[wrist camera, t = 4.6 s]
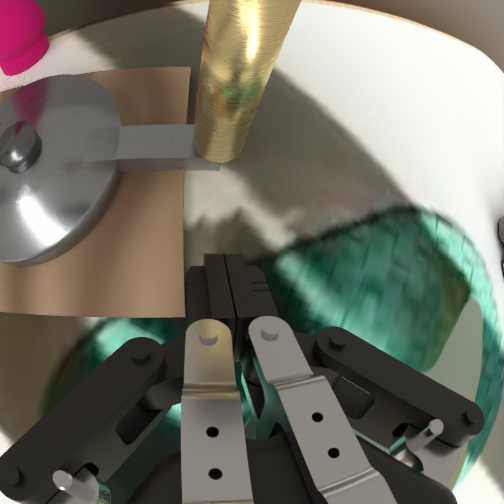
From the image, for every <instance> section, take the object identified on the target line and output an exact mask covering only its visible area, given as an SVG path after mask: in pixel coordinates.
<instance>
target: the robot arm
mask: <svg viewBox="0 0 504 504" xmlns="http://www.w3.org/2000/svg"><path fill="white" fill-rule="evenodd" d="M186 298H187V328H186V330H185V332H184V333H183V334H182V335H181V336H180V337H179V338H177V339H175V340H173V341H171V342H167V343H164V344H161V345H160V344H159V343H158V342H157V341H155V340H153V339H151V338H147V337H137V338H133V339H130V340H128V341H127V342H125V343H124V344H123V345H122V346H121V347H120V348H118V349H117V350H116V351H115V352H114V353H113V354H112V355H111V356H110V357H108V358H107V359H106V360H105V361H104V362H103V363H102V364H101V365H99V366H98V367H97V368H96V369H95V370H94V371H93V372H92V373H91V374H89V375H88V376H87V377H86V378H85V379H84V380H83V381H82V382H81V383H80V384H78V385H77V386H76V387H75V388H74V389H73V390H72V391H71V392H70V393H69V394H67V395H66V396H65V397H64V398H63V399H62V400H61V401H60V402H59V403H58V404H57V405H55V406H54V407H53V408H52V409H51V410H50V411H49V412H48V413H47V414H46V415H45V416H43V417H42V418H41V419H40V420H39V421H38V422H37V423H36V424H35V425H34V426H33V427H32V428H31V429H29V430H28V431H27V432H26V433H25V434H24V435H23V436H22V437H21V438H20V439H19V440H18V441H17V442H16V443H15V444H13V445H12V446H11V447H10V448H9V449H8V450H7V451H6V452H5V453H4V454H3V455H2V456H1V457H0V491H1V492H2V493H3V494H4V495H5V496H7V497H8V498H10V499H12V500H14V501H16V502H18V503H21V504H110V502H111V495H110V491H109V489H108V487H107V485H106V484H105V482H106V480H107V479H108V478H109V477H110V476H111V475H112V474H113V473H114V472H115V471H116V470H117V469H118V468H119V466H120V465H121V464H122V463H123V462H124V461H125V460H126V459H127V458H128V457H129V455H130V454H131V453H132V452H133V451H134V450H135V449H136V448H137V447H138V445H139V444H140V443H141V442H142V441H143V440H144V439H145V438H146V436H147V435H148V434H149V433H150V432H151V431H152V430H153V429H154V427H155V426H156V425H157V424H158V423H159V422H160V421H161V419H162V418H163V417H164V416H165V415H166V414H167V412H168V411H169V410H170V409H171V407H172V405H175V404H178V403H181V449H180V450H178V451H175V452H173V453H171V454H169V455H168V456H166V457H165V458H163V459H162V460H161V461H160V462H159V463H158V464H156V465H155V467H154V468H153V469H152V470H151V471H150V473H149V474H148V475H147V477H146V478H145V479H144V480H143V482H142V483H141V484H140V485H139V487H138V488H137V489H136V490H135V492H134V493H133V494H132V495H131V497H130V498H129V499H128V500H127V501H126V503H125V504H457V501H456V498H455V496H454V495H453V493H452V492H451V491H450V490H449V489H448V488H447V486H448V484H449V482H450V479H451V476H452V474H453V471H454V468H455V466H456V463H457V460H458V457H459V454H460V451H461V448H462V446H463V445H464V444H465V443H466V442H468V441H469V440H470V439H472V438H473V437H474V436H476V435H477V434H478V433H479V432H480V431H481V430H482V429H483V426H484V415H483V412H482V410H481V409H480V407H479V406H478V405H477V404H475V403H474V402H472V401H470V400H468V399H466V398H465V397H463V396H461V395H459V394H457V393H456V392H454V391H452V390H450V389H448V388H447V387H445V386H443V385H441V384H439V383H438V382H436V381H434V380H432V379H431V378H429V377H427V376H425V375H424V374H422V373H420V372H418V371H416V370H415V369H413V368H411V367H409V366H408V365H406V364H404V363H402V362H401V361H399V360H397V359H395V358H394V357H392V356H390V355H388V354H387V353H385V352H383V351H381V350H380V349H378V348H376V347H375V346H373V345H371V344H369V343H368V342H366V341H364V340H363V339H361V338H359V337H357V336H356V335H354V334H352V333H351V332H349V331H347V330H345V329H343V328H340V327H335V326H330V327H326V328H324V329H322V330H321V331H320V332H319V333H318V335H317V336H316V335H309V334H303V333H298V332H295V331H293V330H291V328H290V326H289V325H288V324H287V323H286V322H285V321H283V320H282V319H280V318H279V315H278V312H277V309H276V307H275V304H274V301H273V298H272V296H271V293H270V291H269V287H268V285H267V283H266V279H265V276H264V273H263V272H262V271H261V270H260V269H259V268H258V267H257V266H256V265H246V264H245V260H244V257H243V254H242V253H204V263H203V266H191V267H190V269H189V270H188V272H187V274H186ZM234 362H241V366H242V375H241V380H242V384H243V387H244V390H245V393H246V397H247V400H248V403H249V406H250V409H251V413H252V416H253V419H254V422H255V427H256V438H257V440H249V439H245V435H244V427H243V418H242V409H241V401H240V393H239V389H238V388H237V387H236V380H235V370H234ZM342 377H344V378H346V379H347V380H349V381H350V382H352V383H354V384H355V385H357V386H359V387H361V388H362V389H364V390H365V391H367V392H369V393H370V394H369V393H367V392H365V391H363V390H362V389H360V388H359V387H357V386H355V385H354V384H352V383H350V382H349V381H347V380H345V379H344V378H342ZM352 428H353V429H355V430H357V431H358V432H360V433H361V434H363V435H365V436H366V437H368V438H370V439H372V440H373V441H375V442H377V443H379V444H381V445H382V446H384V447H386V448H388V449H389V450H390V455H389V454H387V453H386V452H384V451H382V450H381V449H379V448H377V447H376V446H374V445H373V444H371V443H369V442H368V441H366V440H364V439H363V438H361V437H359V436H358V435H356V434H354V432H353V430H352Z"/></svg>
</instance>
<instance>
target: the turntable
mask: <svg viewBox="0 0 504 504" xmlns="http://www.w3.org/2000/svg"><path fill="white" fill-rule="evenodd" d="M300 2H301V0H210V3H209V9H208V15H207V21H206V28H205V35H204V42H203V50H202V57H201V66H200V74H199V83H198V92H197V102H196V113H195V124H167V125H135V126H122V123H121V119H120V115H119V111H118V108H117V106H116V103H115V101H114V99H113V97H112V96H111V94H110V93H109V92H108V91H107V90H106V89H105V88H104V86H102V85H101V84H99V83H98V82H96V81H94V80H92V79H90V78H87V77H83V76H79V75H57V76H51V77H47V78H43V79H40V80H37V81H35V82H32V83H30V84H28V85H26V86H24V87H22V88H20V89H19V90H17V91H16V92H14V93H12V94H11V95H10V96H8V97H7V98H6V99H4V100H3V101H2V102H1V103H0V262H1V263H4V264H8V265H11V266H17V267H29V266H36V265H40V264H44V263H47V262H49V261H51V260H54V259H56V258H58V257H59V256H61V255H63V254H65V253H66V252H68V251H69V250H71V249H72V248H73V247H74V246H76V245H77V244H78V243H79V242H81V241H82V240H83V239H84V238H85V237H86V236H87V235H88V234H89V233H90V232H91V231H92V229H93V228H94V227H95V226H96V225H97V224H98V222H99V221H100V220H101V218H102V217H103V215H104V214H105V212H106V211H107V209H108V207H109V206H110V204H111V202H112V200H113V199H114V196H115V194H116V192H117V190H118V187H119V185H120V182H121V178H122V175H123V172H127V171H159V170H216V171H219V169H220V165H221V162H227V161H230V160H232V159H234V158H236V157H237V156H238V155H239V154H240V152H241V151H242V148H243V145H244V143H245V140H246V137H247V134H248V132H249V129H250V126H251V124H252V121H253V118H254V116H255V113H256V110H257V108H258V105H259V102H260V100H261V97H262V94H263V92H264V89H265V87H266V84H267V82H268V79H269V76H270V74H271V71H272V69H273V66H274V64H275V61H276V59H277V56H278V54H279V51H280V49H281V47H282V44H283V42H284V39H285V37H286V35H287V32H288V30H289V27H290V25H291V23H292V20H293V18H294V16H295V13H296V11H297V9H298V6H299V4H300Z"/></svg>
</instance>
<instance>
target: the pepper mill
mask: <svg viewBox="0 0 504 504" xmlns="http://www.w3.org/2000/svg"><path fill="white" fill-rule="evenodd" d="M44 24H45V15H44V13H43V11H42V9H41V7H40V6H39V5H38V4H37V3H36V2H35V1H34V0H0V67H1V69H2V71H3V72H4V74H6V75H10V76H11V75H16V74H19V73H21V72H23V71H25V70H27V69H28V68H30V67H31V66H33V65H34V64H35V63H37V62H38V61H39V60H40V59H41V58H42V57H43V55H44V54H45V53H46V51H47V49H48V46H49V42H48V39H47V36H46V33H45V32H44V31H42V29H43V27H44Z"/></svg>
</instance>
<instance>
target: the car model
mask: <svg viewBox="0 0 504 504" xmlns="http://www.w3.org/2000/svg"><path fill="white" fill-rule="evenodd" d="M499 239H500V241H501V243H502V244H503V246H504V218H501V219H500V221H499ZM502 266H503V271H504V263H503V264H502Z"/></svg>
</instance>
